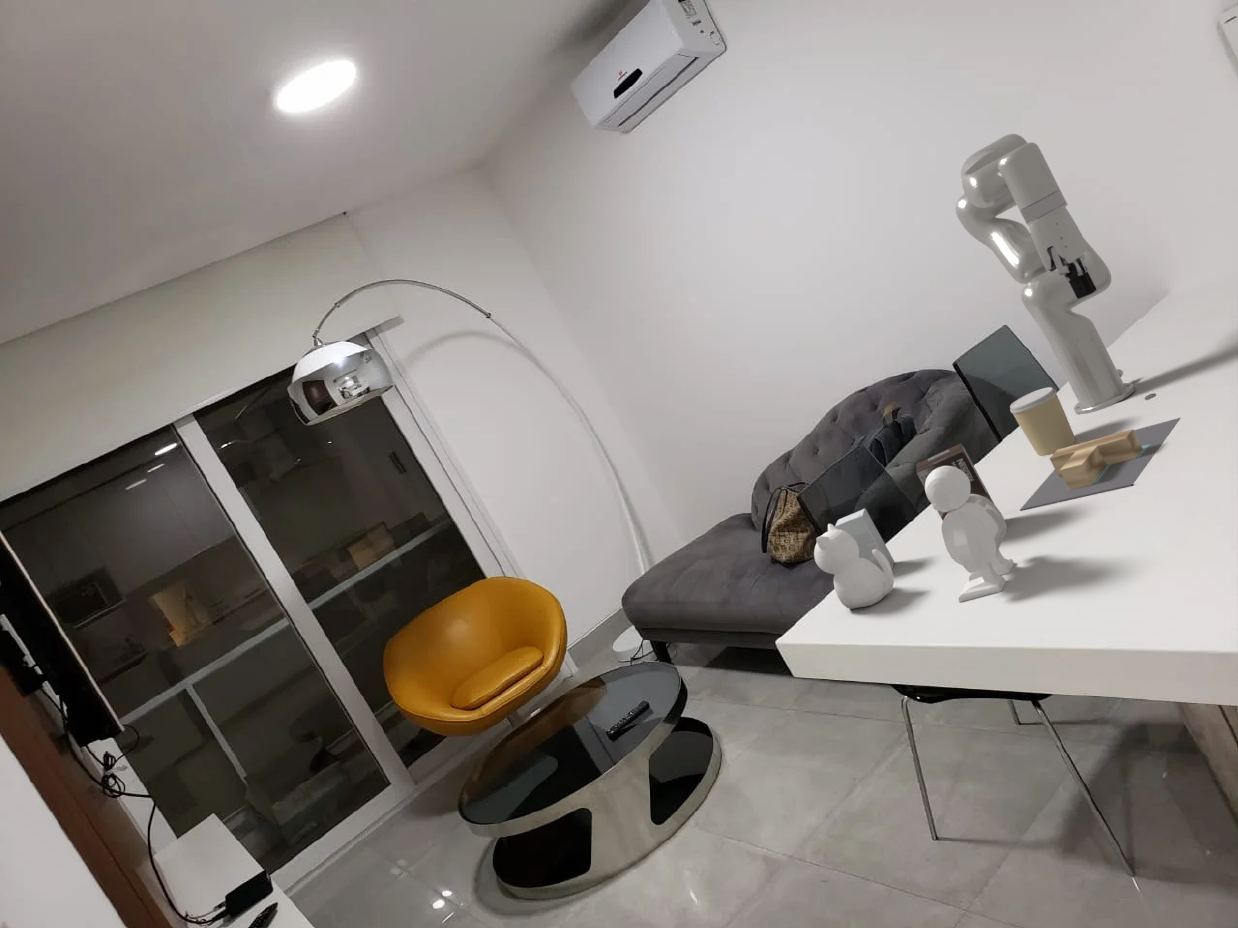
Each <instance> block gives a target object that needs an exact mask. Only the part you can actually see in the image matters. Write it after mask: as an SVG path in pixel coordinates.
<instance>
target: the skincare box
mask: <svg viewBox="0 0 1238 928" xmlns="http://www.w3.org/2000/svg"><path fill="white" fill-rule="evenodd" d="M834 526H835V527H836V528H837V529H838V530H843V531H845V532H847V533H849V534H850V535H851V536H852V537H853V538H854V539H855V541H856V543H857V545H858V547H859V557H860V558H865V559H867V560H869V561H870V562H872V563H873V564H875V565H876V566H877V567H878V568H879V569H880V570H881V571H882V572H883V573H884V571H883V569H882V567H881V565H880V564H879V562H878V561H877V560H876V558H875V557H874V556H873V554H872V550H874V549H876V550H878V551H880V552H881V553H882V554H883V555H884V556H885V557H886V559H887V560H888V562H889V564H890V566H891V569H892V570H893V569H894V564H895V560H894V558H893V556H892V554H891V552H890V551H889V549H888V547H887V545H886V543H885V541H884V540H883V538H882V536H881V534H880V533H879V530H878V529H877V526H876V525H875V524H874V522H873V520H872V518H871V516H870V515H869V512H868V510H867V509H866V508H863V509H861V510H858V511H856V512H854V513H850V514H849V515H847V516H844V517H842V518H839V519H838V520H837V521H836V523H835V525H834Z"/></svg>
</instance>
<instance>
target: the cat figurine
mask: <svg viewBox="0 0 1238 928" xmlns="http://www.w3.org/2000/svg"><path fill="white" fill-rule="evenodd" d="M815 539H816V544H815V546H814V550H813V556H814V561H815V563H816V565H817V566H818V568H819V569H820V570H821V571H823V572H825V573H827V574H830V575H834V576H833V585H834V586H833V587H834V590H835V593H836V596H837V598H838V599H839V601H840V603H841V604H842V605H843V606H844V607H845V608H846V609H851V610H852V609H854V610H855V609H858V608H865V607H870V606H873V605H875V604H877V603H879V602H880V601H882V600H883V598H884V597H885V596H887V595H888V594H890V593H891V592H892V590H893V588H894V583H895V581H894V580H895V579H894V574H893V573H894V572H893V569H891V566H890V564H889V562H888V560H887V559H886V557H885V556H884V555H883V554H882V553H881V552H880V551H878V550H876V549H874V550H872V554H873V556H874V557H875V558H876V560H877V561H878V562H879V564H880V565H881V567H882V569H883V571H884V573H883V572H882V571H881V570H880V569H879V568H878V567H877V566H876V565H875V564H873V563H872V562H870V561H869V560H867V559H865V558H860V557H859V547H858V545H857V543H856V541H855V539H854V538H853V537H852V536H851V535H850V534H849V533H847V532H845V531H843V530H838V529H837V528H836V527H835V525H833V524H832V523H828V524H827V531H826V532H824V533H823V534H822V535H820V536H818V537H816V538H815Z"/></svg>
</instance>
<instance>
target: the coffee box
mask: <svg viewBox="0 0 1238 928" xmlns="http://www.w3.org/2000/svg"><path fill="white" fill-rule="evenodd" d="M915 466H916V471H915V472H916V475H917V476H918V479H919V480H920V482H921V484H922V485H923V487H924V488H925V482H926V479H927V477H928V475H929V474H930V473H931V472H932V471H933V470H935V469H936V468H939V467H941V466H953V467H956V468H958V469H960V470H961V471H963V472H964V473H965V474H966V475H967V477H968V479H969V481H970V487H971V489H970V494H977V495H981V496H983V497H985V498H987V499H988V500H990V501H991V502H992V503H993V504H994V505H995V502H994V500H993V499H992V497H991V495H990V494H989V491H988V489H987V488H986V485H985V484H984V482H983V480H982V479H981V477H980V475H979V473H978V471H977V469H976V468H975V466H974V463H973V462H972V460H971V458H970V456H969V454H968V453H967V451H966V449H965V447H964V445H963V444H962V442H961V443H959V444H957V445H954V446H951V447H950V448H948V449H945V450H943V451H941V452H939V453H937V454H935V455H932V456H930V457H928V458H926V459H924V460H922V461H919V462H917V463H916V464H915ZM995 506H996V505H995ZM936 511H937V513H938V515H939V517H940V519H941V520H942V521H943V520H944V518H945V517H946V515H947V514H948V512H949V511H948V512H941V511H938V510H936Z"/></svg>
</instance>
